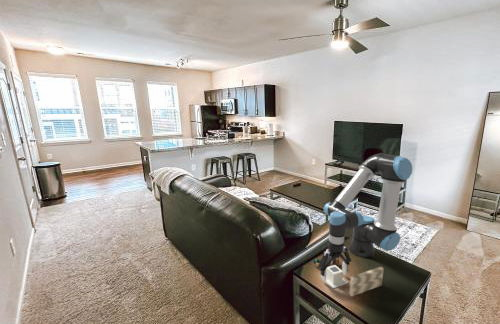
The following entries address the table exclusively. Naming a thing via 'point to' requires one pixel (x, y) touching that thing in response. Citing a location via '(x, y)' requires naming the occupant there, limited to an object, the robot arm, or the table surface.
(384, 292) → the table surface
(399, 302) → the table surface
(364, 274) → the birch screen
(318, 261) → the decorative duck model
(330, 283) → the felt mat
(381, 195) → the robot arm
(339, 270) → the cream cube
